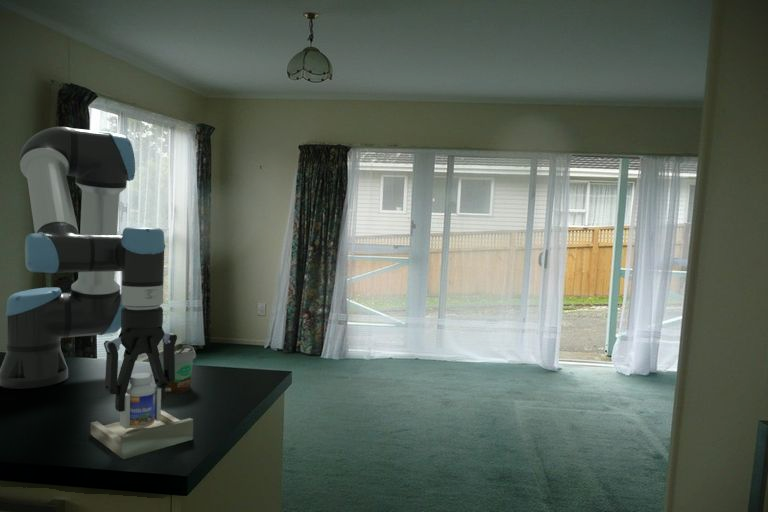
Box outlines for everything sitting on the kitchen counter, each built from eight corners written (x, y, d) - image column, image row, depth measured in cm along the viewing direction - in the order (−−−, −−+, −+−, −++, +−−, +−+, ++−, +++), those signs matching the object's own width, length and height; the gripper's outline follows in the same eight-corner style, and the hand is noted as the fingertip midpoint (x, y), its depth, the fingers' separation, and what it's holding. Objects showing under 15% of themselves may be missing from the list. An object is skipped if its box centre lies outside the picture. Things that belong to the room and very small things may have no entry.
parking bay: (90, 434, 108) (90, 414, 108) (156, 418, 118) (157, 400, 118) (123, 459, 98) (123, 437, 98) (192, 439, 108) (193, 419, 108)
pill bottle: (124, 430, 105) (125, 380, 104) (125, 420, 110) (126, 372, 109) (155, 427, 107) (156, 378, 106) (154, 417, 112) (155, 370, 111)
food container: (177, 398, 131) (178, 357, 131) (154, 395, 132) (155, 355, 132) (204, 384, 143) (205, 346, 143) (183, 381, 144) (184, 344, 144)
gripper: (100, 313, 97) (98, 440, 99) (196, 305, 111) (193, 416, 113) (84, 307, 102) (83, 428, 104) (177, 300, 116) (175, 407, 118)
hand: (140, 422), depth 108 cm, fingers closed on pill bottle, 5 cm apart
